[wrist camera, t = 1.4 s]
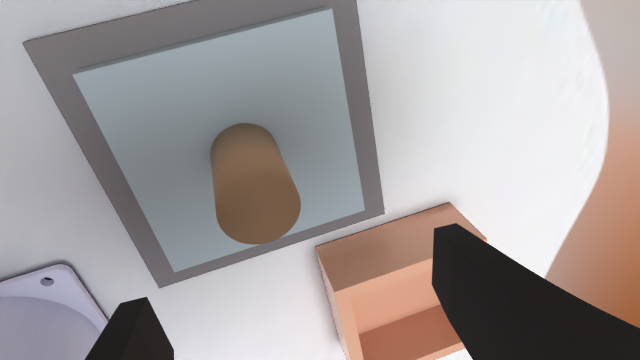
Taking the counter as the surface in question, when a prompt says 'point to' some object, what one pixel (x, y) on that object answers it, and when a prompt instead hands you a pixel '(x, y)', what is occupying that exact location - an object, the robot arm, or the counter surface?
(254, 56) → the lid
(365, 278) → the tray
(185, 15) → the mat
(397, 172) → the counter surface
